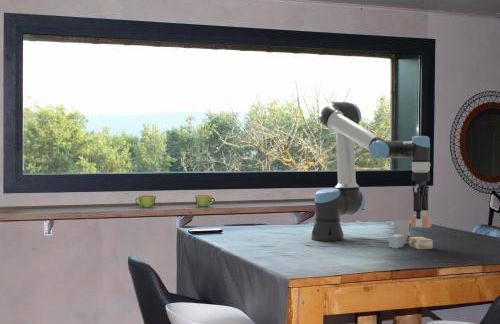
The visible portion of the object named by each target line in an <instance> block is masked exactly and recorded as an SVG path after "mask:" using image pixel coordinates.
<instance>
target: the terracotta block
mask: <svg viewBox="0 0 500 324" xmlns="http://www.w3.org/2000/svg"><path fill="white" fill-rule="evenodd" d="M411 221H412V223H411V228H417V227H416V214H413V215H411ZM431 227H432V215H430V214H428V215H427V214H426V215H422V227H419V228H421V229H423V228H425V229H429V228H431Z"/></svg>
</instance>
